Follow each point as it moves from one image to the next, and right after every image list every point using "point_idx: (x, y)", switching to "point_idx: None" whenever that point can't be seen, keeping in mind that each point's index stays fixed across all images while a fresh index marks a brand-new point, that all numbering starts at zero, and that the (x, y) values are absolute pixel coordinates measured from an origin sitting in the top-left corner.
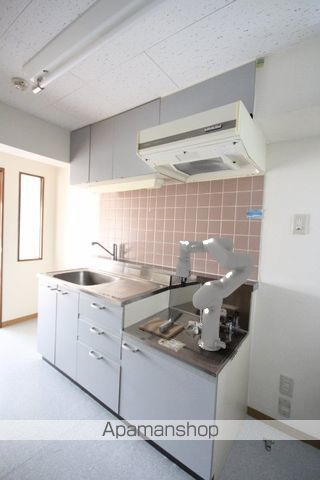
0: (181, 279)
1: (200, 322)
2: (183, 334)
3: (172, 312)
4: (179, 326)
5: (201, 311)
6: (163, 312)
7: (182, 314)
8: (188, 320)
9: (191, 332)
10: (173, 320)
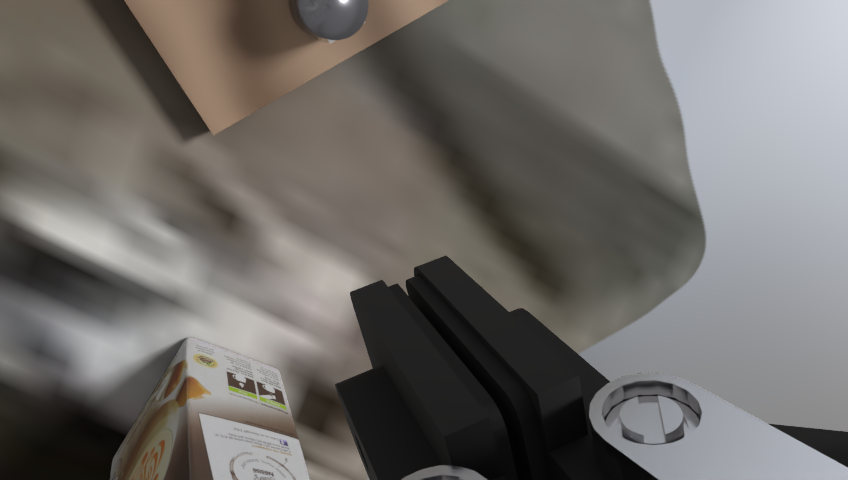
0: (631, 467)
1: (210, 361)
2: (30, 22)
3: (614, 207)
4: (209, 64)
5: (196, 445)
6: (658, 110)
7: (529, 286)
8: (374, 278)
9: (59, 155)
10: (301, 17)
